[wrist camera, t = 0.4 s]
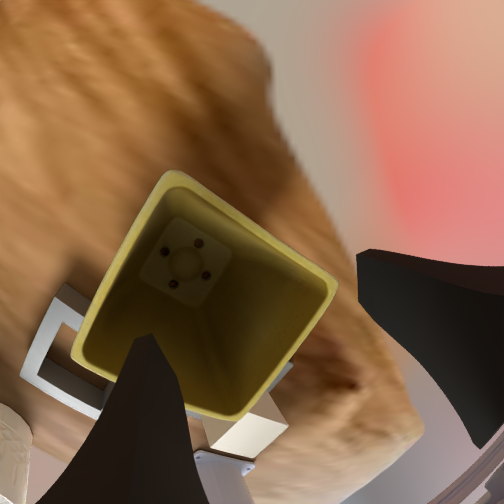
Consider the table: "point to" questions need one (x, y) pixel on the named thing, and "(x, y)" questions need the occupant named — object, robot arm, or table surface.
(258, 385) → the flower pot
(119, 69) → the table surface
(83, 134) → the table surface
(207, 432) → the plug
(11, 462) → the white cup
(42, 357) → the socket housing
